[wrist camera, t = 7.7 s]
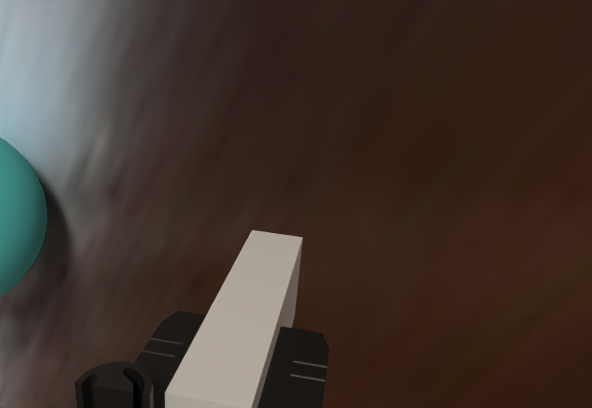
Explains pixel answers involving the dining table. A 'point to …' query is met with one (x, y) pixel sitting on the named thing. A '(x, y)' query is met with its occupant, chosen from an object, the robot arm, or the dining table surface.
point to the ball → (19, 216)
